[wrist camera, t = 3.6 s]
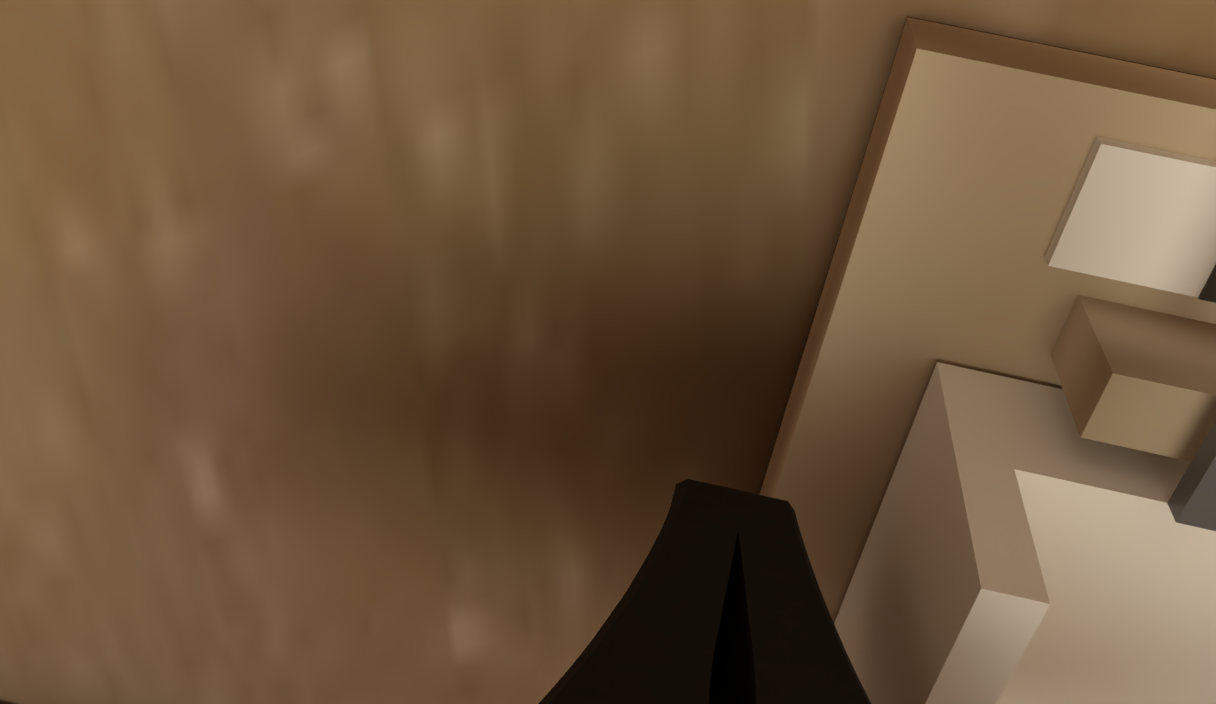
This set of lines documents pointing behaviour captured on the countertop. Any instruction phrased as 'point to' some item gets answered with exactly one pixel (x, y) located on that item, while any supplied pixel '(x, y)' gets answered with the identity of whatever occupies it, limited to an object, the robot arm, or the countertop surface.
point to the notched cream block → (1033, 560)
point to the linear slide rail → (1007, 267)
